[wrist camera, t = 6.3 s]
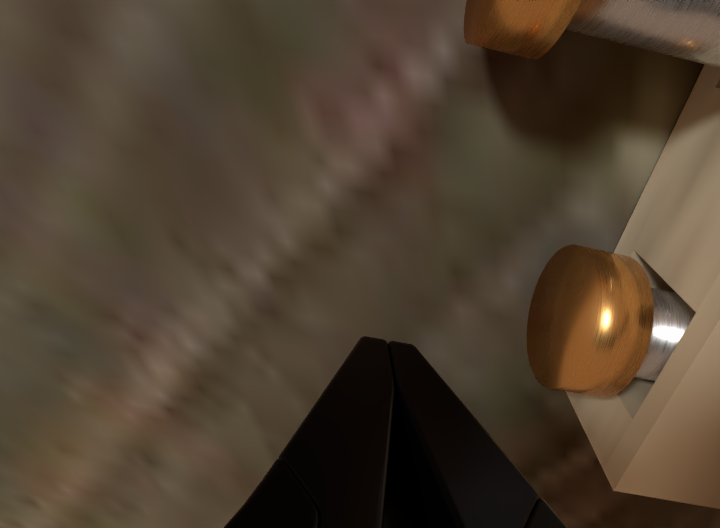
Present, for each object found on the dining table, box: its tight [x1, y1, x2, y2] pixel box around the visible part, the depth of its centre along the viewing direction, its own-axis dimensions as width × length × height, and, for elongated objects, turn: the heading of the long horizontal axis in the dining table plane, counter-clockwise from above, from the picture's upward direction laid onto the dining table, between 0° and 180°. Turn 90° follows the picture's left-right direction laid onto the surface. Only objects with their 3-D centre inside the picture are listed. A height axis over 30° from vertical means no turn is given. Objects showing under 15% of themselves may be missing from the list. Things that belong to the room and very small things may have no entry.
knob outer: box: [527, 245, 696, 398], centre depth 17 cm, size 10×4×4 cm, turn 77°
